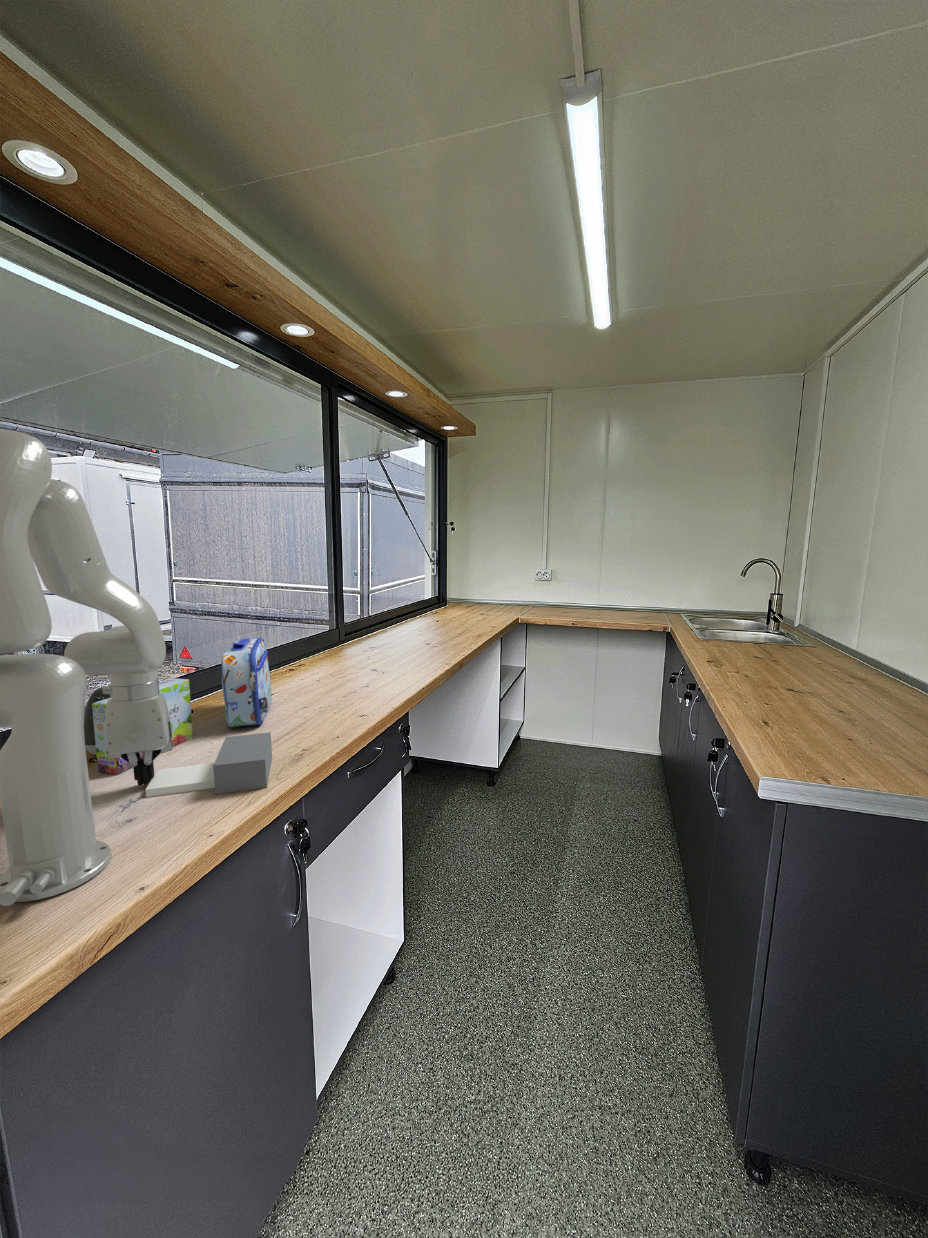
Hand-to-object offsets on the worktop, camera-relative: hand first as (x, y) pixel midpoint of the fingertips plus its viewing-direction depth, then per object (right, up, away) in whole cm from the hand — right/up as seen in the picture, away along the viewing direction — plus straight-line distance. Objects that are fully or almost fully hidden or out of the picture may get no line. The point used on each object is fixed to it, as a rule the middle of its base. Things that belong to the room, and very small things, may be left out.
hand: (145, 782), depth 97 cm
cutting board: (+9, -1, +3) cm, 9 cm away
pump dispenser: (-19, +1, +17) cm, 26 cm away
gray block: (+17, 0, +5) cm, 18 cm away
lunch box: (+3, +4, +40) cm, 41 cm away
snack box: (-9, +1, +16) cm, 18 cm away
